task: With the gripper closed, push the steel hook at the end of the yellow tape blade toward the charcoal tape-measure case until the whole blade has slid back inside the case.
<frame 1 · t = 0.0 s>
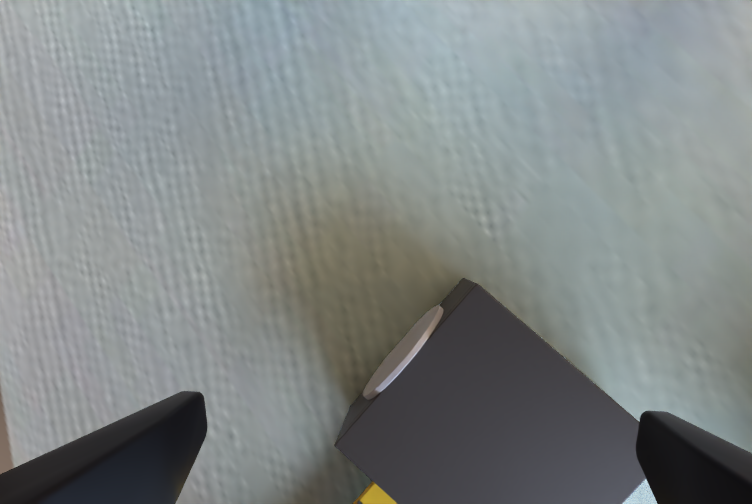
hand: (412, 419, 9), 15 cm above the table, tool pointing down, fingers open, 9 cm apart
tape case: (479, 407, 24), on the table
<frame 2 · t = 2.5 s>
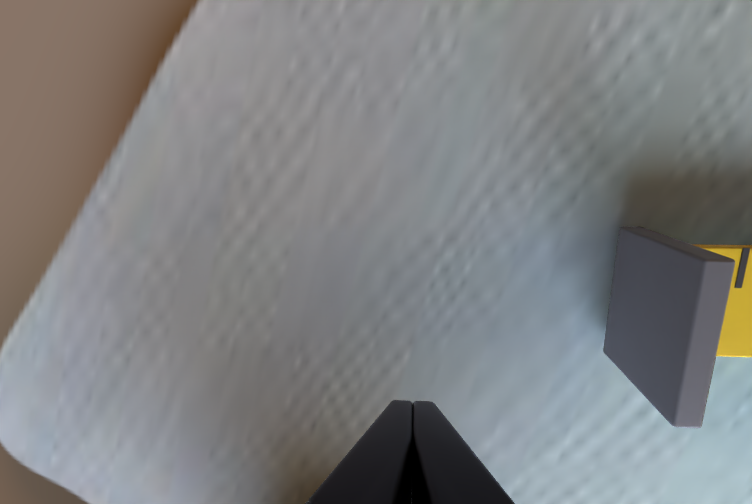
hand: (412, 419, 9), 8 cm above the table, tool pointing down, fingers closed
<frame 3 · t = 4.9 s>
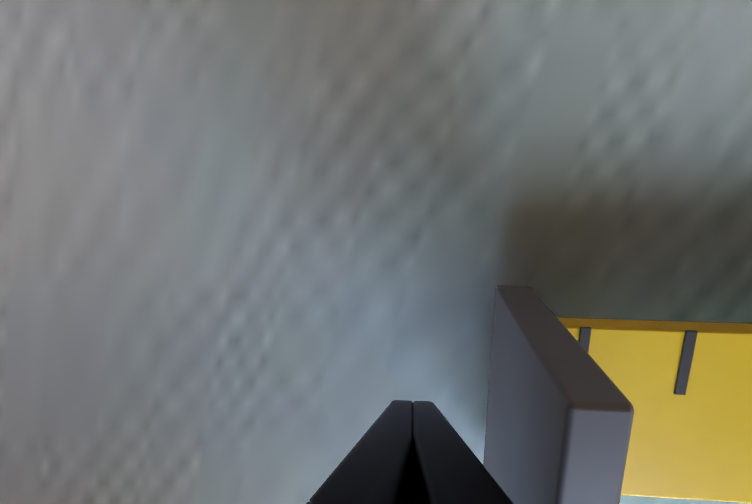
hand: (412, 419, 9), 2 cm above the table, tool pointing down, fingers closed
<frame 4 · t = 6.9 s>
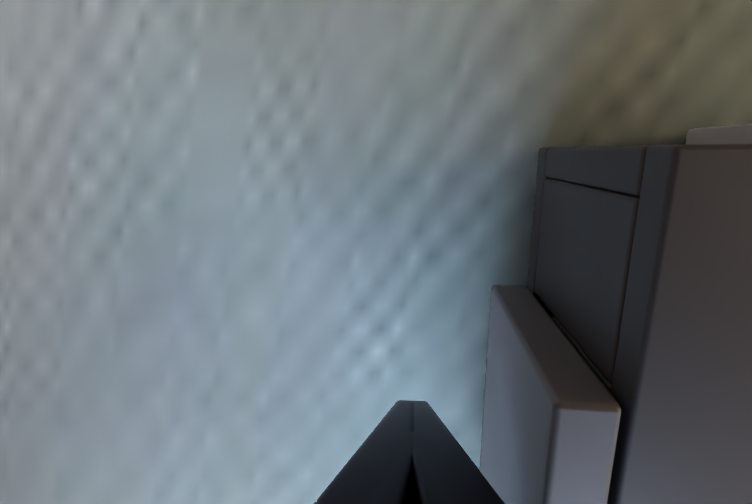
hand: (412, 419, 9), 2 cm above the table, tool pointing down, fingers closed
tape case: (735, 386, 10), on the table
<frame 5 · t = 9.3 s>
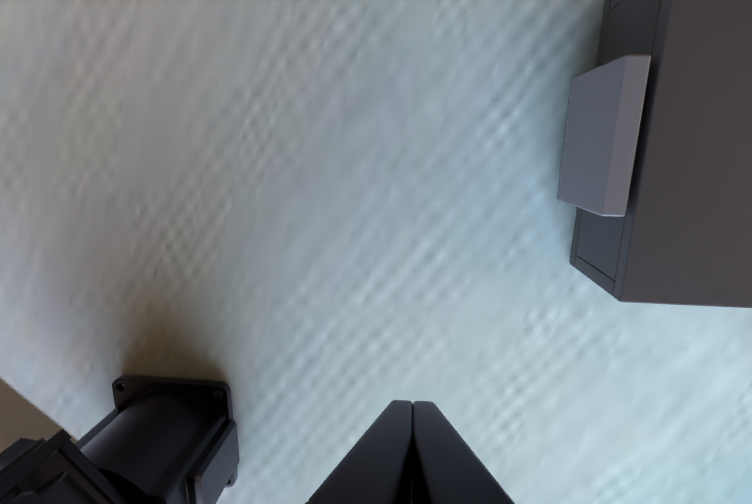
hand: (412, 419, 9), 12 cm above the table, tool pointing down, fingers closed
tape blade: (723, 141, 15), point 3 cm above the table, slide at 0.0 cm
tape case: (708, 143, 18), on the table
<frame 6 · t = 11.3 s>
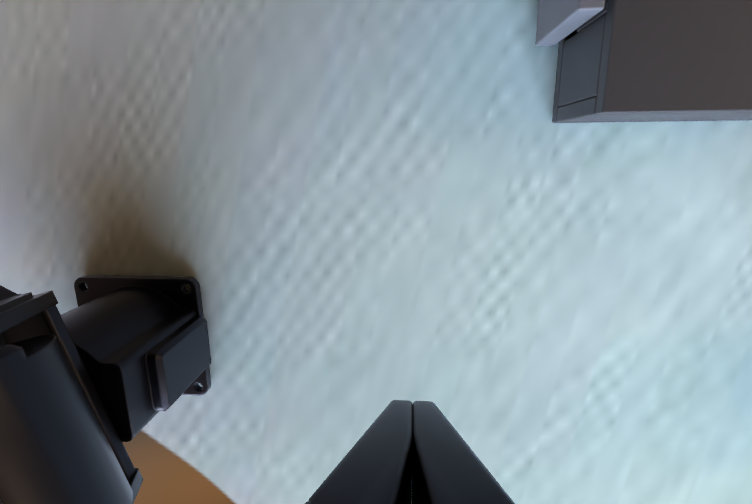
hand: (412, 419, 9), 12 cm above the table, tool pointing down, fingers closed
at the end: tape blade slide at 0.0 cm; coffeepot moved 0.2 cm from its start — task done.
